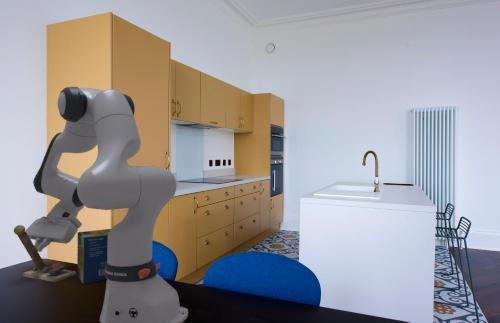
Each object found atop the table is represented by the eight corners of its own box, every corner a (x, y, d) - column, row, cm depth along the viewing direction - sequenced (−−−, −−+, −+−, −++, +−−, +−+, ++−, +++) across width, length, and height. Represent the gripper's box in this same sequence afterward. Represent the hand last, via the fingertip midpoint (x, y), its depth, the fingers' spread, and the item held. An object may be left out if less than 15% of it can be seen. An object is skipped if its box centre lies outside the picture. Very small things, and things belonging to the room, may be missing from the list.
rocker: (66, 268, 118) (66, 265, 118) (54, 274, 114) (54, 271, 114) (60, 267, 119) (60, 264, 119) (48, 273, 115) (48, 270, 115)
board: (75, 274, 120) (76, 267, 120) (55, 282, 112) (56, 274, 112) (43, 269, 125) (43, 262, 125) (22, 276, 118) (22, 268, 118)
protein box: (76, 275, 119) (76, 231, 119) (121, 268, 128) (121, 227, 128) (82, 284, 110) (82, 237, 110) (129, 275, 119) (130, 231, 120)
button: (62, 268, 121) (62, 263, 121) (55, 270, 118) (55, 265, 119) (56, 267, 122) (56, 262, 122) (50, 270, 119) (50, 264, 119)
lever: (50, 266, 121) (24, 223, 112) (42, 273, 118) (16, 229, 109) (43, 265, 122) (18, 222, 113) (36, 272, 119) (9, 228, 111)
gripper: (35, 211, 128) (9, 243, 119) (75, 214, 121) (50, 248, 112) (46, 221, 132) (22, 252, 123) (85, 224, 125) (62, 258, 116)
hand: (36, 250), depth 117 cm, fingers closed, pressing on lever
